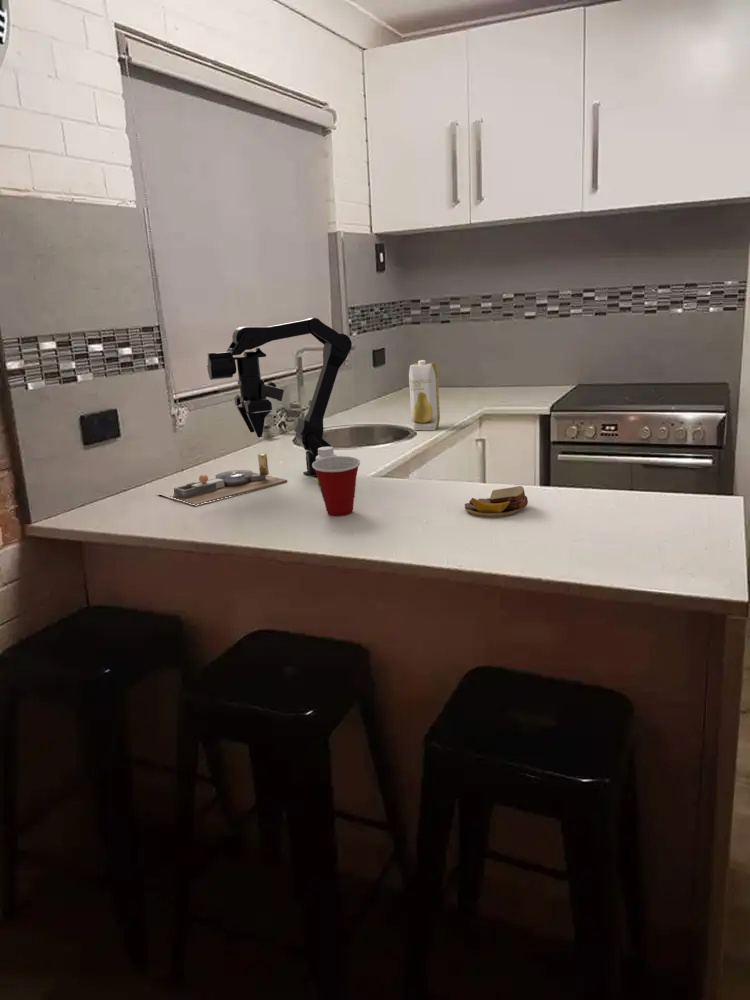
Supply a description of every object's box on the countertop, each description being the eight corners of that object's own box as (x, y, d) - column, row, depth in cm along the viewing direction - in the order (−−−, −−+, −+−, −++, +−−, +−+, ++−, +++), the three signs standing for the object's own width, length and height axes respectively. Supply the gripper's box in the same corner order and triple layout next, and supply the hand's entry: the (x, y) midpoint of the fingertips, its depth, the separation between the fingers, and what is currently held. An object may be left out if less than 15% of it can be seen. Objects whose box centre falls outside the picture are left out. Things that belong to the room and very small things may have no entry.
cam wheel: (271, 478, 205) (268, 454, 203) (233, 488, 197) (230, 463, 196) (246, 472, 214) (243, 449, 212) (209, 482, 206) (206, 458, 204)
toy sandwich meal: (473, 502, 173) (472, 482, 171) (532, 504, 168) (532, 484, 166) (458, 518, 162) (457, 497, 160) (521, 521, 156) (520, 499, 155)
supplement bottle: (316, 485, 197) (312, 447, 194) (336, 482, 198) (333, 444, 196) (321, 490, 192) (317, 451, 189) (342, 487, 193) (338, 448, 190)
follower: (224, 486, 200) (222, 471, 199) (197, 493, 195) (195, 477, 194) (218, 484, 202) (216, 469, 201) (192, 491, 197) (189, 476, 196)
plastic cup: (321, 522, 165) (316, 469, 161) (312, 510, 175) (307, 459, 171) (369, 515, 167) (365, 462, 164) (357, 503, 177) (353, 453, 174)
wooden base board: (287, 482, 203) (286, 471, 202) (195, 506, 185) (194, 495, 184) (246, 472, 217) (244, 463, 217) (157, 494, 199) (155, 484, 199)
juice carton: (410, 431, 263) (406, 361, 256) (416, 427, 270) (412, 359, 263) (436, 431, 260) (433, 360, 253) (441, 426, 267) (438, 358, 261)
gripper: (288, 375, 191) (294, 435, 195) (271, 370, 208) (277, 426, 212) (245, 379, 188) (252, 441, 192) (231, 374, 205) (237, 431, 209)
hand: (256, 434), depth 201 cm, fingers open, 9 cm apart
